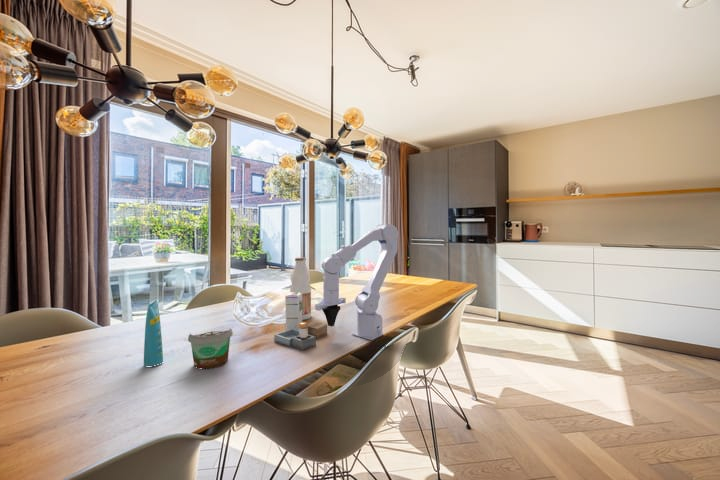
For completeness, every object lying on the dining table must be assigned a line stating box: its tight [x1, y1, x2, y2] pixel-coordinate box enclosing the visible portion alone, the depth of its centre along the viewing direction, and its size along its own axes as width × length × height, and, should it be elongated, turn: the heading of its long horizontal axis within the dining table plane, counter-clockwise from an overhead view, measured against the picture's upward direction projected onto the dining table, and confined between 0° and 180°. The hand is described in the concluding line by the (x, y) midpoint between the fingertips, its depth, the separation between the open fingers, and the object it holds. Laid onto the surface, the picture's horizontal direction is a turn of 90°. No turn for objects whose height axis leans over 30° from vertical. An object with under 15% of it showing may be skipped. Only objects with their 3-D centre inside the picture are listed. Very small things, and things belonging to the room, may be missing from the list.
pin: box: [299, 321, 309, 340], centre depth 105 cm, size 3×3×8 cm
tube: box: [143, 298, 164, 367], centre depth 90 cm, size 7×5×19 cm, turn 26°
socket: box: [290, 334, 317, 351], centre depth 105 cm, size 6×6×3 cm
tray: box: [273, 329, 299, 347], centre depth 110 cm, size 8×8×2 cm
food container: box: [187, 327, 234, 370], centre depth 89 cm, size 12×6×10 cm, turn 117°
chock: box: [308, 321, 328, 340], centre depth 116 cm, size 7×6×4 cm
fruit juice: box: [289, 257, 312, 321], centre depth 139 cm, size 9×9×28 cm
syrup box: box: [284, 292, 304, 331], centre depth 124 cm, size 6×6×14 cm
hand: (331, 325), depth 111 cm, fingers closed
